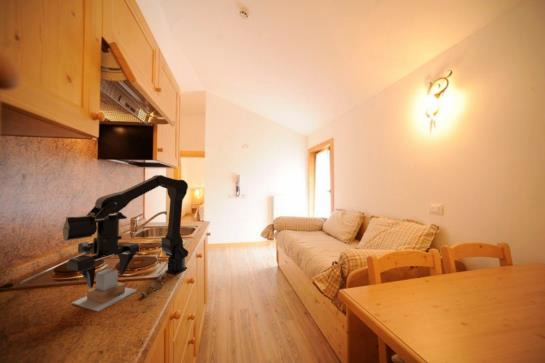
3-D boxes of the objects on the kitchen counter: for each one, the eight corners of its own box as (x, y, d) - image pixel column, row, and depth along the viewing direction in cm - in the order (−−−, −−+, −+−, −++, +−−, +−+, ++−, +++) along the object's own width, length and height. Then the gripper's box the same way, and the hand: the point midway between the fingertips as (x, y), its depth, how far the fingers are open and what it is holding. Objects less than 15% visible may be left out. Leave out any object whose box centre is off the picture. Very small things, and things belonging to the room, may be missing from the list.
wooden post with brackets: (166, 283, 75) (162, 274, 73) (148, 302, 68) (144, 293, 66) (162, 282, 75) (158, 273, 73) (144, 301, 68) (140, 292, 66)
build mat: (113, 285, 74) (113, 284, 74) (137, 291, 70) (137, 290, 70) (72, 303, 62) (72, 302, 62) (98, 311, 59) (98, 310, 59)
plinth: (110, 288, 71) (110, 280, 71) (124, 292, 68) (125, 283, 69) (87, 299, 64) (87, 290, 64) (101, 304, 62) (102, 294, 62)
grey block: (109, 282, 69) (109, 268, 69) (117, 284, 68) (117, 270, 68) (95, 288, 65) (96, 273, 65) (104, 290, 64) (104, 275, 64)
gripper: (119, 226, 78) (119, 266, 78) (55, 238, 60) (54, 290, 60) (141, 228, 74) (140, 270, 74) (79, 242, 57) (78, 297, 57)
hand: (107, 280), depth 66 cm, fingers open, 9 cm apart
